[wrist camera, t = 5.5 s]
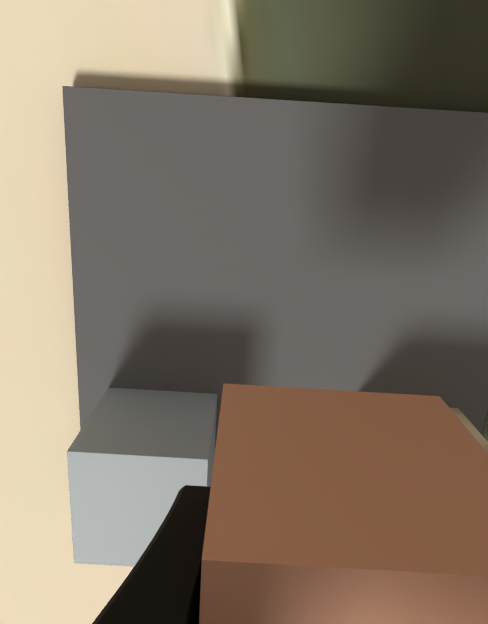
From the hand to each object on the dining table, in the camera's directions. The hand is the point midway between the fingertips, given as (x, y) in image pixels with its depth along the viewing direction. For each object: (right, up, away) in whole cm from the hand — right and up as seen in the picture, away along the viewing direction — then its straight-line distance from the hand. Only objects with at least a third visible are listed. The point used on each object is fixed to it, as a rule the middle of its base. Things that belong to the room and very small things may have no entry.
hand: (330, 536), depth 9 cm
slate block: (-5, -1, +11) cm, 12 cm away
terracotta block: (0, +1, +1) cm, 1 cm away
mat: (0, +3, +10) cm, 10 cm away
